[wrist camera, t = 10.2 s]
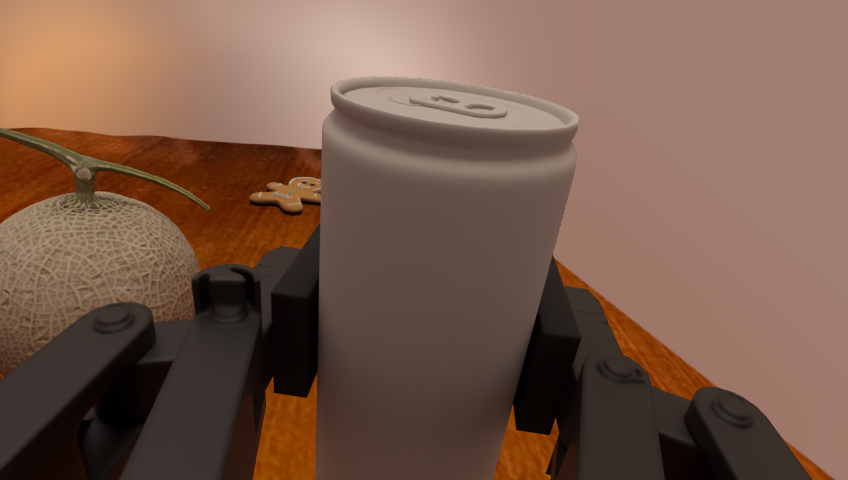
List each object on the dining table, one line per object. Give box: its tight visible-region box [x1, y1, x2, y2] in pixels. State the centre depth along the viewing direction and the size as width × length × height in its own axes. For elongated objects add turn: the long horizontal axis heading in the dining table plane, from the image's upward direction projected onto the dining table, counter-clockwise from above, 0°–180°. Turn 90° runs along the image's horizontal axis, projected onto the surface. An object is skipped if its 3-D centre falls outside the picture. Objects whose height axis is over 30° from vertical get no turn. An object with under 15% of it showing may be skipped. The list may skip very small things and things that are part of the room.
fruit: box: [0, 128, 211, 376], centre depth 26 cm, size 10×12×15 cm
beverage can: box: [315, 77, 580, 480], centre depth 11 cm, size 5×5×12 cm
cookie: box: [249, 177, 321, 213], centre depth 57 cm, size 8×1×10 cm
